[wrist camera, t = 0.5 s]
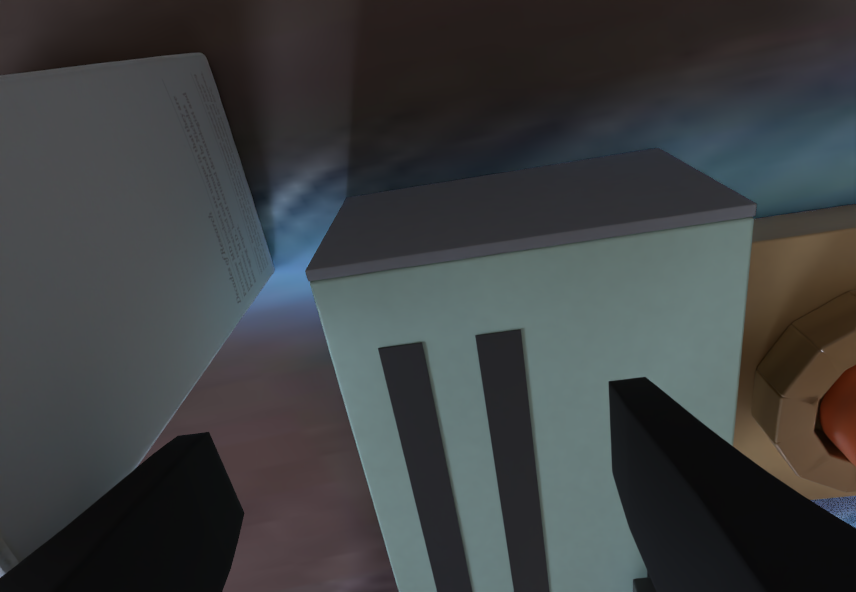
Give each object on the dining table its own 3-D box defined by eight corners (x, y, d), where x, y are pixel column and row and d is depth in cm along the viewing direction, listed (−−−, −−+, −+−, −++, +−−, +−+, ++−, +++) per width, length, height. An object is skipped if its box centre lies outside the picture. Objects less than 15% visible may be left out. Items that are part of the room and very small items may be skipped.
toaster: (653, 525, 24) (714, 670, 19) (429, 547, 25) (425, 690, 20) (659, 147, 17) (758, 204, 12) (346, 197, 18) (303, 271, 13)
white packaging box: (210, 45, 16) (-333, 97, 5) (280, 273, 19) (52, 624, 8) (-19, 87, 17) (-963, 220, 6) (85, 301, 20) (-377, 661, 9)
